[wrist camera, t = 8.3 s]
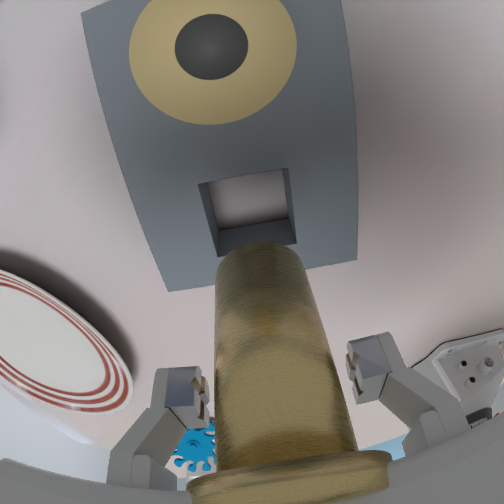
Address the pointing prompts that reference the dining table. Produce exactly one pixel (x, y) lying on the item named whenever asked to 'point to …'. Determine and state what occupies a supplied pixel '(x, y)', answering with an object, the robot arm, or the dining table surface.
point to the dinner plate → (58, 353)
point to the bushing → (278, 392)
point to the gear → (196, 448)
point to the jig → (229, 122)
